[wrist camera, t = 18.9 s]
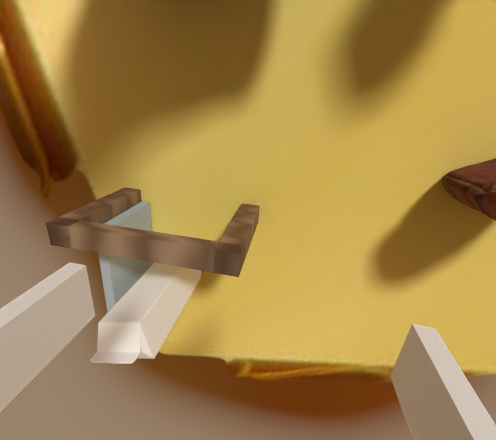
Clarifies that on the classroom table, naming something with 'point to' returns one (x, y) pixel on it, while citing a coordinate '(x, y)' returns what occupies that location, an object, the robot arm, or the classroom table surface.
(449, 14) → the classroom table surface
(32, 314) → the robot arm
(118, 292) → the door
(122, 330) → the milk
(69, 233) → the door frame
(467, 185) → the wooden figurine
